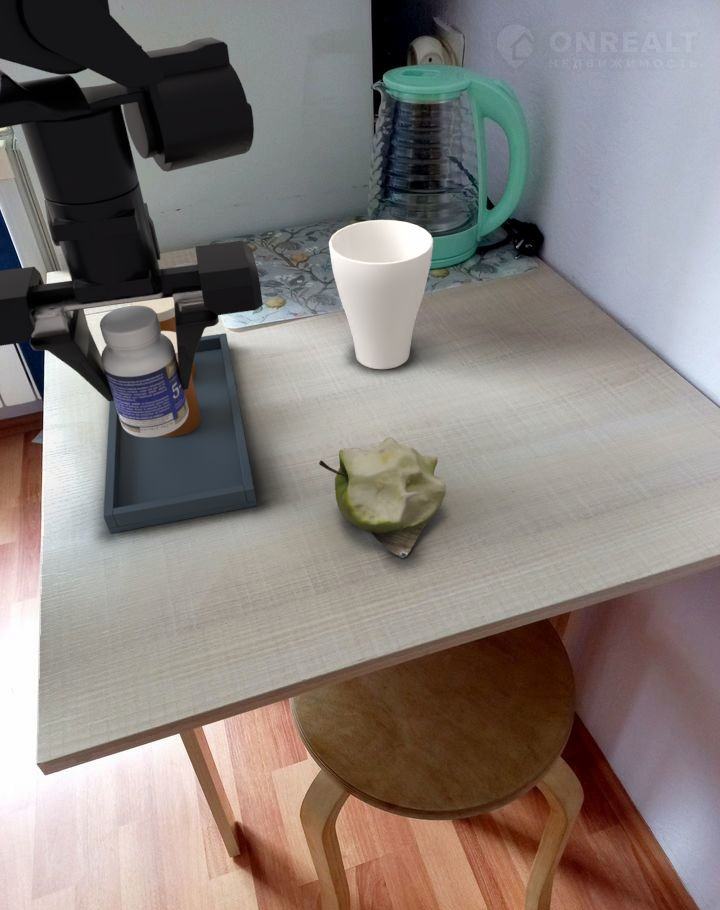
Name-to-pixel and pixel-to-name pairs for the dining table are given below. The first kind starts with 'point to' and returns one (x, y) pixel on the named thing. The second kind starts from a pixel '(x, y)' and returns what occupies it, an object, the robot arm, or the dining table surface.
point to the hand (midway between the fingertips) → (149, 392)
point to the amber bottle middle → (194, 412)
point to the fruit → (388, 492)
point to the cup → (381, 286)
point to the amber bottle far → (164, 316)
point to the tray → (183, 456)
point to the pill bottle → (142, 372)
